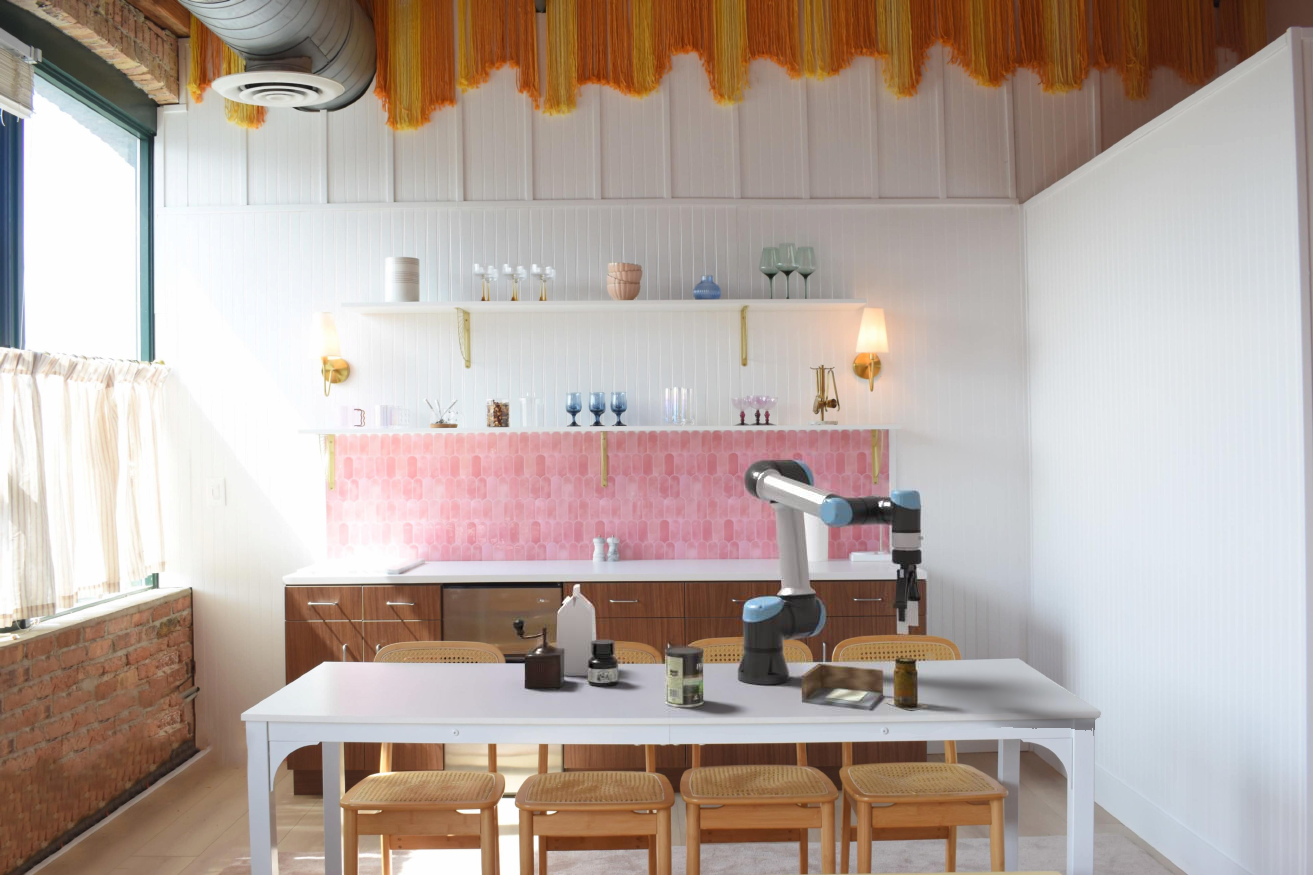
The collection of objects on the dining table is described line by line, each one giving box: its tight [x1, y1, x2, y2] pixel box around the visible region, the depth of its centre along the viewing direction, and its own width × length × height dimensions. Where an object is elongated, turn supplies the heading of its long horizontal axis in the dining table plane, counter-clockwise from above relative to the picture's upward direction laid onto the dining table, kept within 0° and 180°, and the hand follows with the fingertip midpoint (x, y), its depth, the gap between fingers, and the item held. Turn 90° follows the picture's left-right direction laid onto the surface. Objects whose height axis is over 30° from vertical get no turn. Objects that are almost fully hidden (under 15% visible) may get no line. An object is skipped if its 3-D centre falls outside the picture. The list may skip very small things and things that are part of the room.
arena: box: [801, 663, 884, 711], centre depth 248 cm, size 18×16×7 cm
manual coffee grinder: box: [512, 618, 566, 690], centre depth 266 cm, size 16×11×18 cm
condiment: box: [887, 656, 930, 711], centre depth 242 cm, size 7×8×12 cm
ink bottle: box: [587, 639, 619, 687], centre depth 266 cm, size 10×9×12 cm
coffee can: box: [664, 645, 705, 709], centre depth 245 cm, size 10×10×14 cm
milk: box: [555, 584, 597, 677], centre depth 282 cm, size 12×12×26 cm
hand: (908, 629), depth 242 cm, fingers open, 13 cm apart
